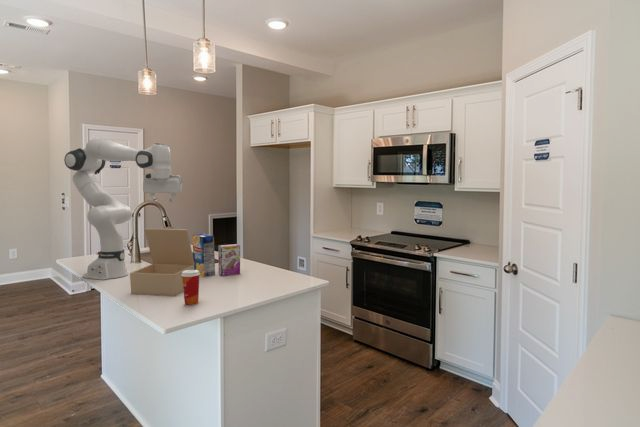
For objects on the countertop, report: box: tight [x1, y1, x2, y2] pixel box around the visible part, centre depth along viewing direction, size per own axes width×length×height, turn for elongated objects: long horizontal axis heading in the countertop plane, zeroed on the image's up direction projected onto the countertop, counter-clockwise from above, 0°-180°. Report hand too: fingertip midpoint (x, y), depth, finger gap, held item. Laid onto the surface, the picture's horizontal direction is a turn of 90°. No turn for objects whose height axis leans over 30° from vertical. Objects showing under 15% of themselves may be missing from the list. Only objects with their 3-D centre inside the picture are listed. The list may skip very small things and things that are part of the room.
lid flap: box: [143, 226, 194, 265], centre depth 209 cm, size 22×20×5 cm
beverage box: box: [191, 233, 216, 278], centre depth 231 cm, size 7×11×22 cm, turn 47°
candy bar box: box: [217, 243, 241, 277], centre depth 231 cm, size 11×5×16 cm, turn 124°
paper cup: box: [181, 270, 200, 306], centre depth 180 cm, size 8×8×14 cm
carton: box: [129, 263, 194, 297], centre depth 202 cm, size 22×20×10 cm
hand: (163, 202), depth 216 cm, fingers open, 8 cm apart
